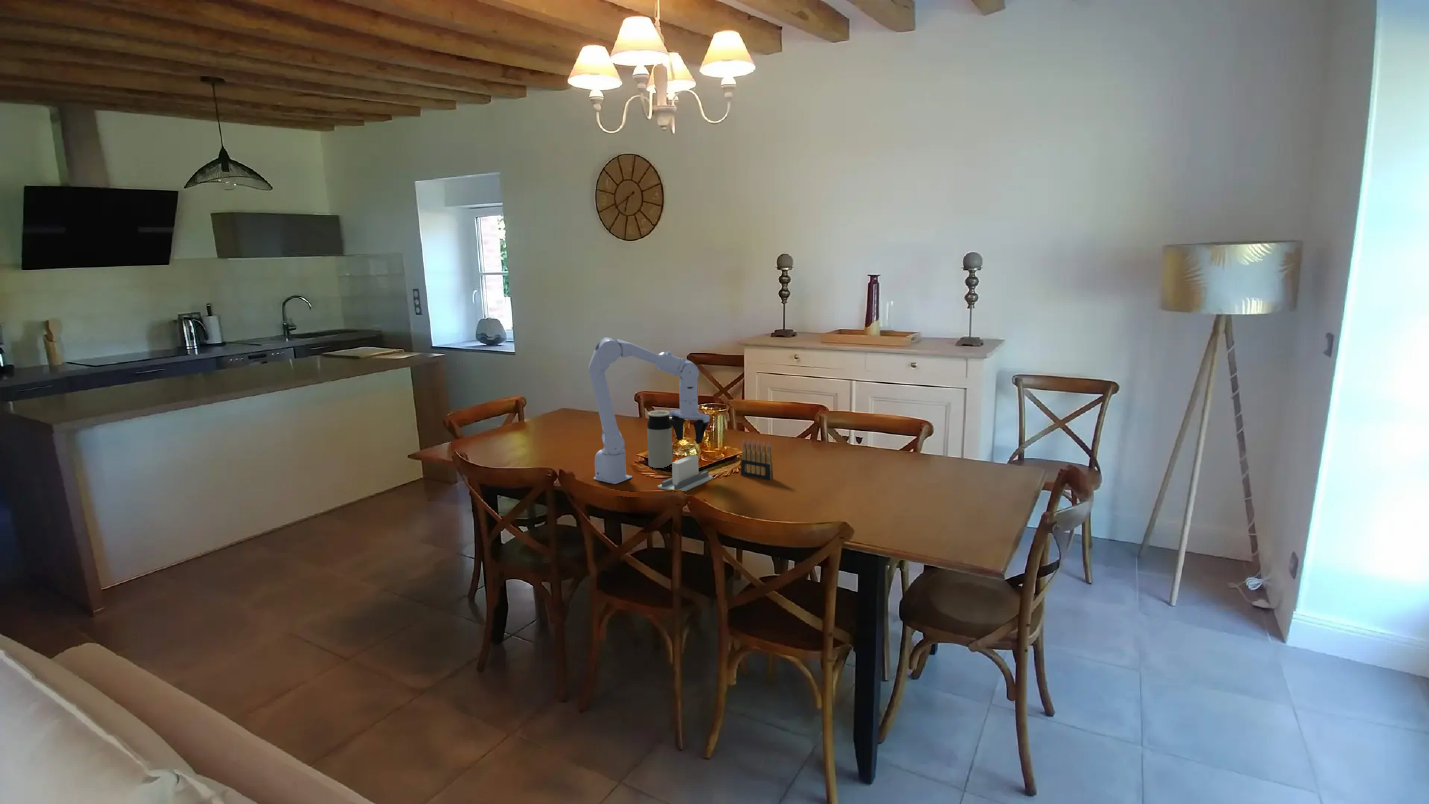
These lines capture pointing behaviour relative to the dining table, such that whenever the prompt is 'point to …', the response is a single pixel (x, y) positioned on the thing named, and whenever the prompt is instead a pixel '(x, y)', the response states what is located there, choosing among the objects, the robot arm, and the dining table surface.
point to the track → (686, 482)
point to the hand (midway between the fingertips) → (689, 441)
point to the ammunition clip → (756, 461)
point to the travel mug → (659, 439)
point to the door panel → (684, 468)
